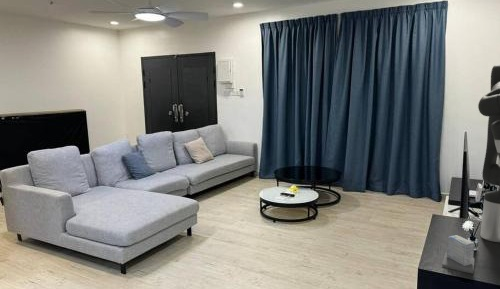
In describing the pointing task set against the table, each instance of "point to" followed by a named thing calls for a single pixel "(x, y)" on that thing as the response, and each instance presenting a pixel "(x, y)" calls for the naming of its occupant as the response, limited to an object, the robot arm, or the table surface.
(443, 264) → the rubber mat
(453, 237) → the medicine box
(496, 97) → the robot arm
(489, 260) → the table surface
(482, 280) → the table surface
